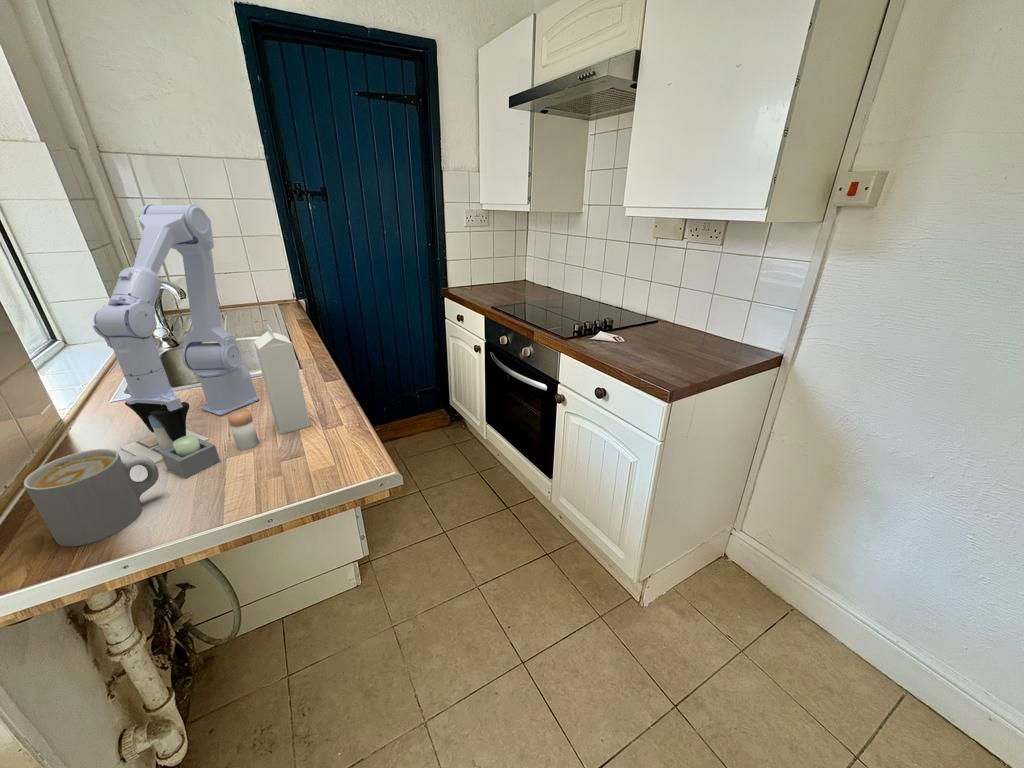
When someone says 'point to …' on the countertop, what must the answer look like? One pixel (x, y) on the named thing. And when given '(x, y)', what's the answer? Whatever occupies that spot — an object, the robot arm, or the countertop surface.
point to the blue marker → (161, 434)
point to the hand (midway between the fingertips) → (168, 434)
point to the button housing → (191, 459)
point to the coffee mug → (89, 494)
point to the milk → (282, 381)
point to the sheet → (151, 447)
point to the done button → (186, 445)
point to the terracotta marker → (243, 429)
